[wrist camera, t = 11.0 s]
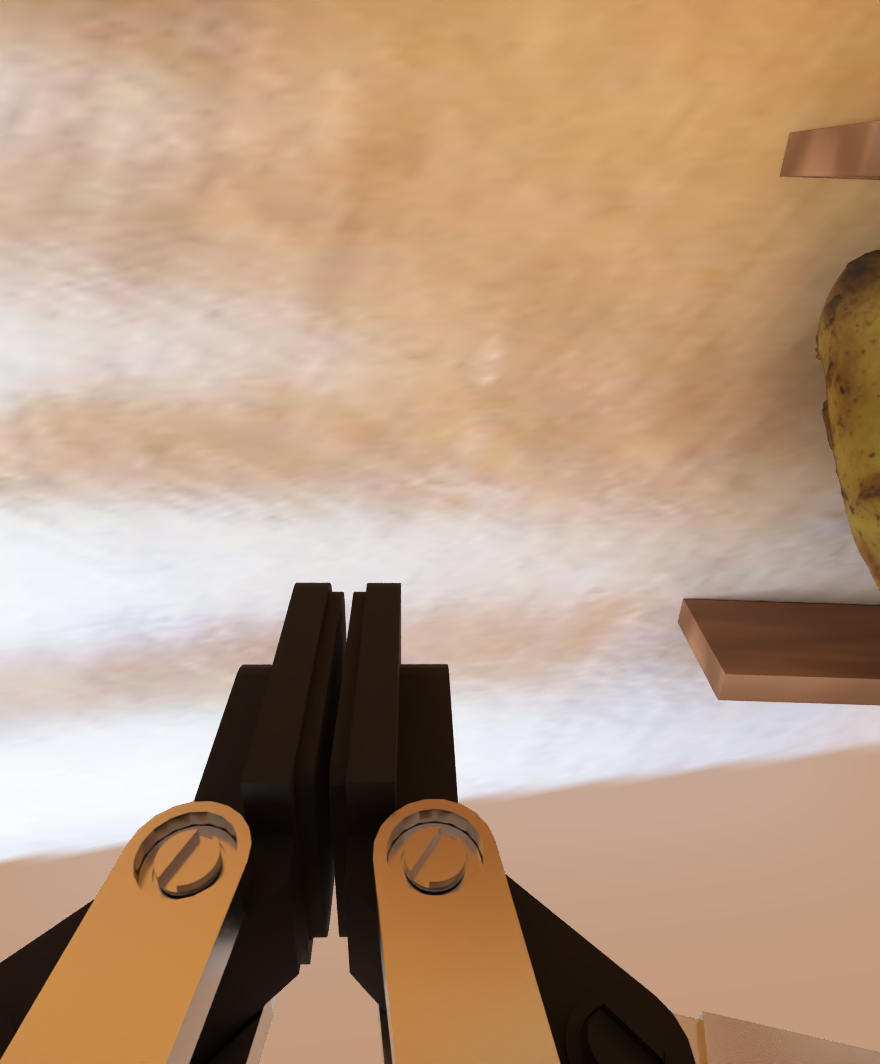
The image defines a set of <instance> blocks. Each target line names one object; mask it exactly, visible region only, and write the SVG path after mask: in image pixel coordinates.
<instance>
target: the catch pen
mask: <svg viewBox="0 0 880 1064" xmlns="http://www.w3.org/2000/svg"><path fill="white" fill-rule="evenodd" d="M780 176H785V177H813V178H841V179H869V180H880V121H874V122H867V123H859V124H852V125H845V126H837V127H830V128H823V129H815V130H808V131H801V132H794V133H790V134H789V139H788V143H787V147H786V152H785V156H784V161H783V165H782V169H781V174H780ZM678 623H679V625H680V627H681V629H682V631H683V633H684V635H685V637H686V639H687V641H688V643H689V645H690V647H691V648H692V650H693V652H694V654H695V656H696V658H697V660H698V662H699V664H700V666H701V668H702V670H703V672H704V674H705V676H706V677H707V679H708V681H709V683H710V685H711V687H712V689H713V691H714V693H715V695H716V697H717V699H718V700H732V701H763V702H794V703H825V704H855V705H880V606H878V605H848V604H818V603H787V602H757V601H727V600H697V599H683V603H682V607H681V612H680V616H679V620H678Z"/></svg>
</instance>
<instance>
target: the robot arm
mask: <svg viewBox="0 0 880 1064" xmlns="http://www.w3.org/2000/svg"><path fill="white" fill-rule="evenodd" d="M334 877H335V885H336V899H337V911H338V926H339V936H340V937H348V950H349V967H350V973H351V975H352V976H353V977H354V978H355V979H356V980H357V981H358V982H359V983H360V984H361V985H362V987H363V988H364V989H365V990H366V991H367V992H368V993H369V994H370V996H371V997H372V998H373V999H374V1000H375V1001H376V1002H377V1005H378V1020H379V1031H380V1040H381V1051H382V1062H383V1064H880V1052H877V1051H873V1050H868V1049H864V1048H860V1047H856V1046H851V1045H847V1044H843V1043H838V1042H834V1041H830V1040H825V1039H821V1038H817V1037H812V1036H808V1035H804V1034H799V1033H795V1032H791V1031H786V1030H782V1029H778V1028H774V1027H769V1026H765V1025H761V1024H756V1023H752V1022H748V1021H743V1020H739V1019H735V1018H730V1017H726V1016H722V1015H717V1014H713V1013H709V1012H704V1011H702V1013H701V1015H700V1018H699V1019H695V1018H691V1017H686V1016H682V1015H678V1014H674V1013H672V1012H671V1011H670V1010H668V1008H667V1007H666V1006H665V1005H664V1004H663V1003H662V1002H661V1001H660V1000H659V999H658V998H657V997H656V996H655V995H654V994H652V993H651V992H650V991H649V990H648V989H646V988H645V987H644V986H643V985H641V984H640V983H639V982H638V981H636V980H635V979H634V978H633V977H631V976H630V975H629V974H628V973H626V972H625V971H624V970H623V969H622V968H620V967H619V966H618V965H617V964H615V963H614V962H613V961H612V960H611V959H609V958H608V957H607V956H606V955H604V954H603V953H602V952H601V951H599V950H598V949H597V948H596V947H594V946H593V945H592V944H591V943H590V942H588V941H587V940H586V939H585V938H583V937H582V936H581V935H580V934H578V933H577V932H576V931H575V930H574V929H572V928H571V927H570V926H569V925H567V924H566V923H565V922H564V921H562V920H561V919H560V918H559V917H558V916H556V915H555V914H554V913H552V912H551V911H550V910H549V909H548V908H546V907H545V906H544V905H543V904H542V903H540V902H539V901H538V900H537V899H535V898H534V897H533V896H532V895H530V894H529V893H528V892H527V891H525V890H524V889H523V888H522V887H521V886H519V885H518V884H517V883H516V882H514V881H513V880H512V879H511V878H509V877H508V876H507V875H506V874H505V872H504V869H503V865H502V862H501V859H500V855H499V851H498V848H497V845H496V841H495V839H494V837H493V835H492V833H491V831H490V829H489V827H488V825H487V824H486V823H485V822H484V821H483V820H482V819H481V818H480V817H479V816H478V814H476V813H475V812H474V811H472V810H470V809H469V808H467V807H465V806H463V805H462V804H459V803H458V796H457V782H456V767H455V753H454V739H453V724H452V710H451V695H450V681H449V669H448V664H401V583H367V588H366V592H354V593H353V600H352V607H351V615H350V622H349V630H348V637H347V641H346V620H345V599H344V593H343V592H332V587H331V584H330V583H296V584H295V586H294V589H293V592H292V596H291V600H290V603H289V607H288V611H287V614H286V618H285V622H284V625H283V629H282V632H281V636H280V640H279V643H278V647H277V651H276V654H275V658H274V662H273V665H242V666H241V667H240V669H239V671H238V673H237V675H236V678H235V681H234V684H233V687H232V690H231V693H230V696H229V699H228V702H227V705H226V708H225V711H224V714H223V717H222V720H221V723H220V726H219V729H218V732H217V734H216V737H215V740H214V743H213V746H212V749H211V752H210V755H209V758H208V761H207V764H206V767H205V770H204V773H203V776H202V779H201V782H200V785H199V788H198V791H197V794H196V797H195V800H194V802H190V803H186V804H182V805H178V806H175V807H172V808H170V809H168V810H166V811H164V812H162V813H160V814H158V815H156V816H155V817H153V818H152V819H151V820H150V821H148V822H147V823H146V824H145V825H144V826H142V827H141V828H140V829H139V830H138V831H137V832H136V834H135V835H134V836H133V837H132V839H131V840H130V841H129V843H128V844H127V845H126V847H125V848H124V850H123V852H122V854H121V855H120V857H119V859H118V860H117V862H116V864H115V865H114V868H113V869H112V871H111V872H110V874H109V876H108V877H107V879H106V881H105V883H104V884H103V886H102V888H101V889H100V891H99V893H98V894H97V896H96V898H95V899H94V900H93V901H91V902H90V903H88V904H87V905H85V906H84V907H82V908H81V909H79V910H78V911H77V912H75V913H73V914H72V915H70V916H69V917H67V918H66V919H64V920H63V921H61V922H60V923H59V924H57V925H56V926H54V927H53V928H51V929H50V930H48V931H47V932H45V933H44V934H42V935H41V936H40V937H38V938H36V939H35V940H33V941H32V942H30V943H29V944H27V945H26V946H25V947H23V948H22V949H20V950H19V951H17V952H16V953H14V954H13V955H11V956H10V957H8V958H7V959H5V960H4V961H2V962H1V963H0V1064H259V1061H260V1057H261V1054H262V1050H263V1047H264V1044H265V1041H266V1037H267V1034H268V1030H269V1027H270V1024H271V1021H272V1017H273V1013H274V1007H275V1000H276V994H277V993H278V992H280V991H281V990H282V989H283V988H284V987H285V986H286V985H287V984H288V983H289V982H290V981H292V980H293V979H294V978H295V977H296V976H297V975H298V974H299V970H300V964H310V960H311V952H312V944H313V938H314V937H327V936H328V931H329V923H330V914H331V905H332V895H333V886H334Z"/></svg>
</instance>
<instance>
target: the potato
mask: <svg viewBox="0 0 880 1064" xmlns="http://www.w3.org/2000/svg"><path fill="white" fill-rule="evenodd" d="M816 343H817V348H816V349H815V350H816V352H817V355H816V357H817V358H818V359H819V360H821V361H822V363H823V365H824V370H825V378H826V388H827V400H826V401H825V402H824V403H823V418H824V422H825V425H826V430H827V436H828V441H829V445H830V447H831V448H832V450H833V453H834V458H835V462H836V473H837V475H838V477H839V481H840V485H841V494H842V496H843V498H844V503H845V507H846V513H847V516H848V519H849V523H850V527H851V530H852V534H853V537H854V540H855V543H856V545H857V548H858V550H859V552H860V554H861V556H862V558H863V559H864V561H865V562H866V564H867V566H868V567H869V570H870V572H871V574H872V577H873V579H874V581H875V583H876V585H877V587H878V588H879V590H880V250H876V251H872V252H869V253H866V254H864V255H862V256H861V257H859V258H857V259H855V260H853V261H852V262H850V263H848V264H847V266H846V269H845V270H844V271H843V272H842V274H841V275H840V276H839V278H838V279H837V281H836V283H835V284H834V286H833V288H832V289H831V291H830V293H829V296H828V298H827V300H826V303H825V306H824V308H823V311H822V314H821V318H820V324H819V330H818V333H817V336H816Z"/></svg>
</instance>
